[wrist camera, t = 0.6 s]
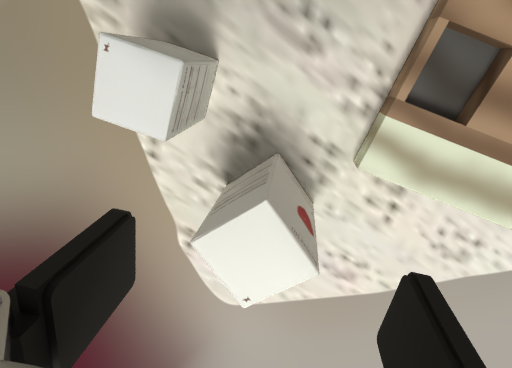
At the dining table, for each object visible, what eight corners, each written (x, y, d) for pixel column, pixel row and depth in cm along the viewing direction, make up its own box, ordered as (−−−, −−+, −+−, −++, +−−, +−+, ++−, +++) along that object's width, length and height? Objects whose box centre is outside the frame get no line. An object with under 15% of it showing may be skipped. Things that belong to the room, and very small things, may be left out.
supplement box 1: (151, 100, 39) (87, 116, 27) (163, 39, 36) (96, 27, 24) (205, 120, 39) (165, 144, 27) (221, 60, 36) (183, 59, 24)
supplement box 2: (315, 205, 41) (323, 277, 27) (261, 234, 44) (242, 312, 30) (279, 150, 39) (267, 198, 25) (224, 184, 42) (186, 244, 28)
